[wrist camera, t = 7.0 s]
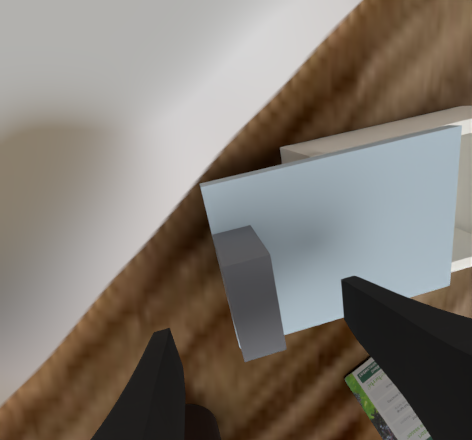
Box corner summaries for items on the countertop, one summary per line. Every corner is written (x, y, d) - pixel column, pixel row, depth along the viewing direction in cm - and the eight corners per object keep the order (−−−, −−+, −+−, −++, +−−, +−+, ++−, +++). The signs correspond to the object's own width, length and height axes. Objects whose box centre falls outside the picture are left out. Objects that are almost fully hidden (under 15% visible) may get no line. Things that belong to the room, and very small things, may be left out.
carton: (460, 106, 22) (536, 103, 17) (451, 229, 25) (512, 254, 21) (279, 147, 20) (310, 156, 16) (297, 272, 24) (325, 309, 19)
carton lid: (449, 124, 16) (536, 127, 12) (439, 279, 20) (505, 320, 16) (199, 183, 15) (207, 208, 11) (237, 339, 18) (254, 400, 14)
